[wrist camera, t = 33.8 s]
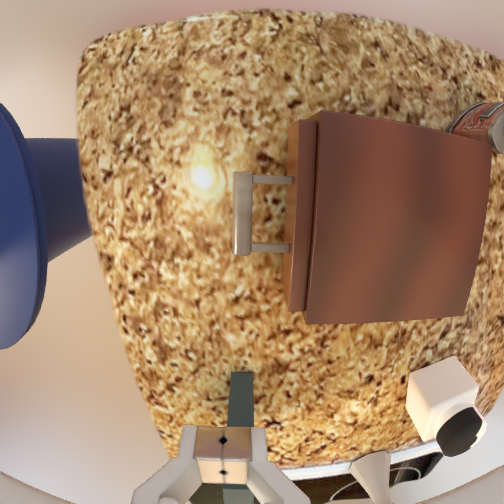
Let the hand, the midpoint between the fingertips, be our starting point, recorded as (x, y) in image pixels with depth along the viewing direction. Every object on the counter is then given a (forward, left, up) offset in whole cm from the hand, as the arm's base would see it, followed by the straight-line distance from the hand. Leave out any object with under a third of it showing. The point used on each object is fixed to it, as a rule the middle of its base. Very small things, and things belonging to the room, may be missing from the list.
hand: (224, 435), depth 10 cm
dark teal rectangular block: (0, -17, -19) cm, 25 cm away
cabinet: (+12, +5, -19) cm, 23 cm away
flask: (+21, -35, -19) cm, 45 cm away
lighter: (+23, +15, -19) cm, 34 cm away
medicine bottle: (+25, -17, -19) cm, 36 cm away
